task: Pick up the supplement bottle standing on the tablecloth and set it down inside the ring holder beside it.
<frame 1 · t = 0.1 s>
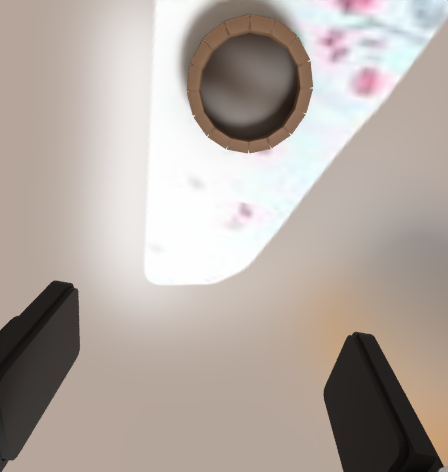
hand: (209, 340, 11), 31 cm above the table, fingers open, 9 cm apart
ring holder: (248, 89, 36), on the table
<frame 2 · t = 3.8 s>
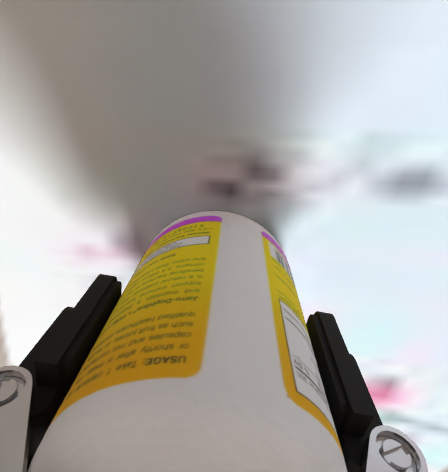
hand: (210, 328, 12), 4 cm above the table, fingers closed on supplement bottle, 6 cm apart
supplement bottle: (217, 270, 15), on the table, touching gripper
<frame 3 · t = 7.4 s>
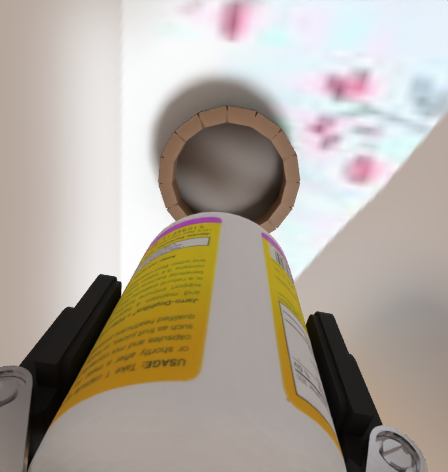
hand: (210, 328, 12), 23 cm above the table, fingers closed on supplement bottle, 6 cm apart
ring holder: (229, 175, 32), on the table
supplement bottle: (217, 271, 15), point 19 cm above the table, touching gripper
when the fingers open (6 cm above the table, at t = 11.0 s): supplement bottle drops 2 cm, resting on ring holder.
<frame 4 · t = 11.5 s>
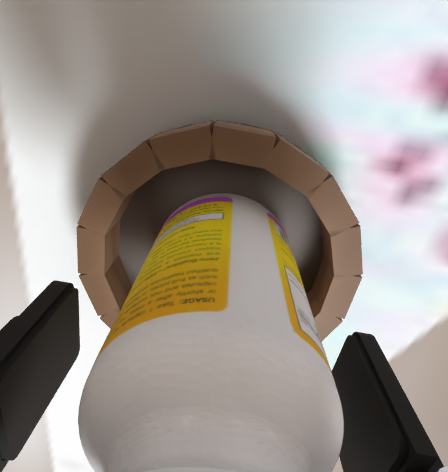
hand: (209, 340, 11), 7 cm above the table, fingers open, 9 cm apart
ring holder: (220, 249, 17), on the table
supplement bottle: (224, 249, 17), resting on ring holder
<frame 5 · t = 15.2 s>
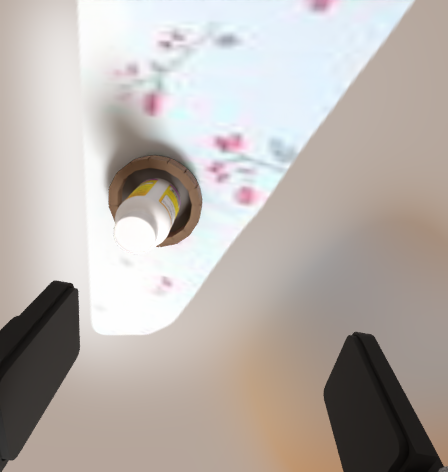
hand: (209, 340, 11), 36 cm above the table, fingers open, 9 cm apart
ring holder: (158, 199, 47), on the table
supplement bottle: (159, 198, 47), resting on ring holder
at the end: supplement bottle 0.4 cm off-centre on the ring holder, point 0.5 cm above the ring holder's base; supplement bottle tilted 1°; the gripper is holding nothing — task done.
